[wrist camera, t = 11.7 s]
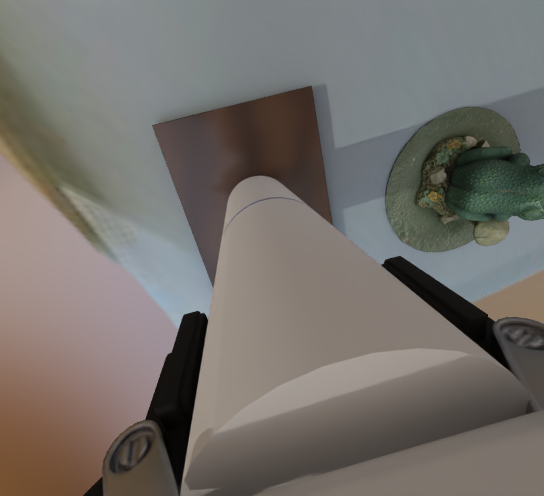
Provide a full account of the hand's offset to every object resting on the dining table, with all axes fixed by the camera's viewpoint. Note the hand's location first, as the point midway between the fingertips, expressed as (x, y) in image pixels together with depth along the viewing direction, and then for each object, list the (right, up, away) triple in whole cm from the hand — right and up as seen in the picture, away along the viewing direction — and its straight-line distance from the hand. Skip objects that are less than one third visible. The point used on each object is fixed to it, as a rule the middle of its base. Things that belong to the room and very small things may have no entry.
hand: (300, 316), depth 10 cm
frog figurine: (+22, +11, +22) cm, 33 cm away
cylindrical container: (-2, +7, +18) cm, 19 cm away
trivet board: (-3, +8, +20) cm, 22 cm away
